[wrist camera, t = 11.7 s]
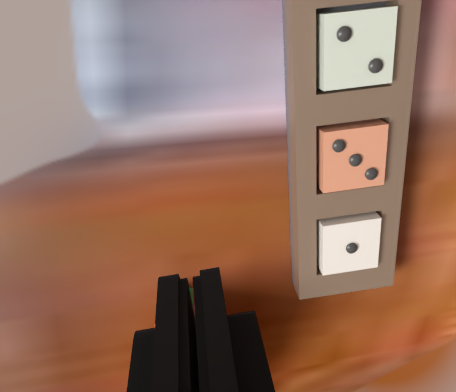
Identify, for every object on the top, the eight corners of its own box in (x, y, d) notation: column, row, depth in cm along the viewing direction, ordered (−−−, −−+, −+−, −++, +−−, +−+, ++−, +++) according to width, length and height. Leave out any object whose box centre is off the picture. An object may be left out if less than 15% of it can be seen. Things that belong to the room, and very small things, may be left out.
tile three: (314, 124, 36) (324, 133, 34) (376, 116, 36) (389, 124, 34) (314, 182, 38) (323, 194, 36) (372, 174, 39) (385, 185, 36)
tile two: (314, 13, 32) (325, 14, 30) (383, 5, 32) (399, 6, 30) (314, 85, 34) (324, 91, 32) (378, 77, 35) (393, 83, 32)
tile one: (315, 214, 40) (323, 227, 38) (370, 206, 40) (382, 219, 38) (315, 261, 42) (323, 276, 40) (367, 253, 43) (378, 268, 40)
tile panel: (281, -29, 32) (291, -32, 29) (405, -42, 32) (426, -46, 30) (292, 282, 45) (299, 299, 42) (380, 268, 45) (393, 285, 43)
